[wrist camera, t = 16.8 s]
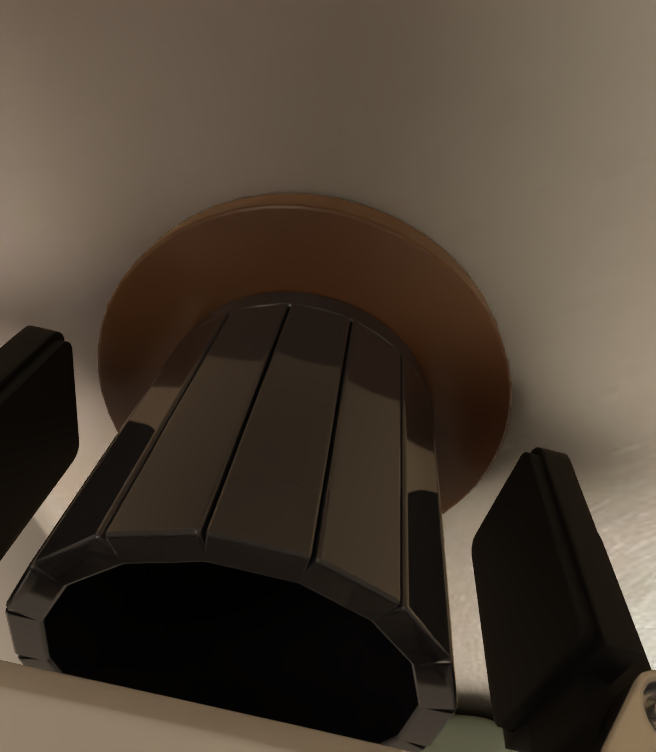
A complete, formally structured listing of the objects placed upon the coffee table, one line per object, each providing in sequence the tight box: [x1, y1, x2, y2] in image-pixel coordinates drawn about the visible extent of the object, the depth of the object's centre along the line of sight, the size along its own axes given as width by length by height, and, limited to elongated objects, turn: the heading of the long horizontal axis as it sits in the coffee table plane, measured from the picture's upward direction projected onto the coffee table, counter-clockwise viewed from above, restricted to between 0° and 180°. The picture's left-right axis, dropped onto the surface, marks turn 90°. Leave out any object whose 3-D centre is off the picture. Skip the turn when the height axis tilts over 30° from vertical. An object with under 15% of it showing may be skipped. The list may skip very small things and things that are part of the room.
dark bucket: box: [6, 291, 458, 752], centre depth 10 cm, size 6×7×6 cm
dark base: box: [98, 194, 512, 514], centre depth 12 cm, size 9×9×1 cm
